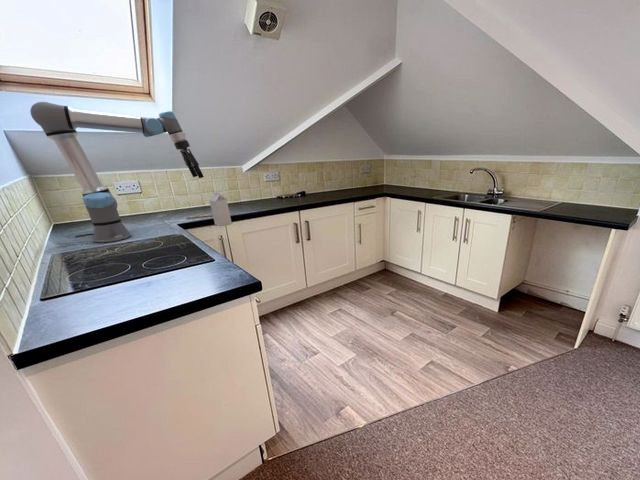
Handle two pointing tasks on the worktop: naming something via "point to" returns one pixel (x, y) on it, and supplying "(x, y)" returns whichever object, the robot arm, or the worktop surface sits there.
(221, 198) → the milk carton
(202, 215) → the wooden spoon
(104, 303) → the worktop surface
